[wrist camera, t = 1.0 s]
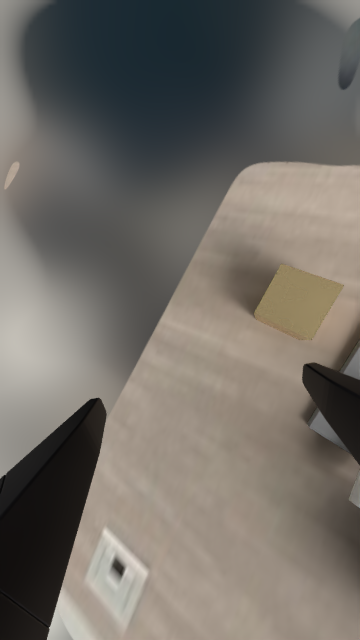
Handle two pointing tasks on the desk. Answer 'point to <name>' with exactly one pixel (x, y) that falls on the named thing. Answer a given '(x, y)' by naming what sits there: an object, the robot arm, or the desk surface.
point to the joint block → (297, 302)
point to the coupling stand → (355, 367)
